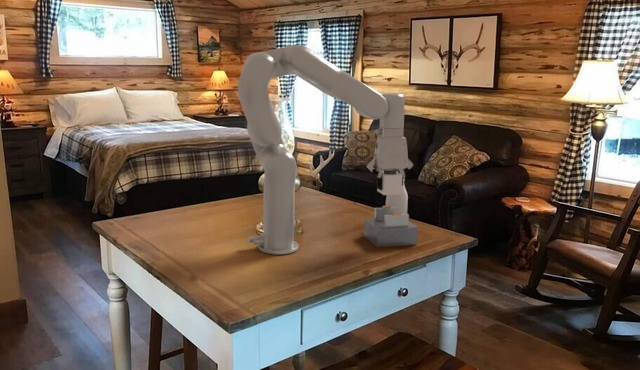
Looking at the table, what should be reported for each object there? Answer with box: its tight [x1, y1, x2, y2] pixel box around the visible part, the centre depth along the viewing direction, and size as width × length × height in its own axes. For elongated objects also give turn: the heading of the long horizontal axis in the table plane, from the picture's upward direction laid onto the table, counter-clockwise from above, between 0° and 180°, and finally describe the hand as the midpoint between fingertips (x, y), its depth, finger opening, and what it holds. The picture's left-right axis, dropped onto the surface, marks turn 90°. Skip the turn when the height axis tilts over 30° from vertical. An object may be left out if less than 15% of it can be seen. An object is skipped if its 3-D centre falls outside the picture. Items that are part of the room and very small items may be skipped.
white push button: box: [376, 169, 402, 196], centre depth 177 cm, size 6×6×7 cm
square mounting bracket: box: [363, 205, 419, 248], centre depth 183 cm, size 16×12×11 cm
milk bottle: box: [385, 175, 409, 214], centre depth 194 cm, size 8×8×20 cm
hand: (389, 188), depth 177 cm, fingers closed on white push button, 6 cm apart
